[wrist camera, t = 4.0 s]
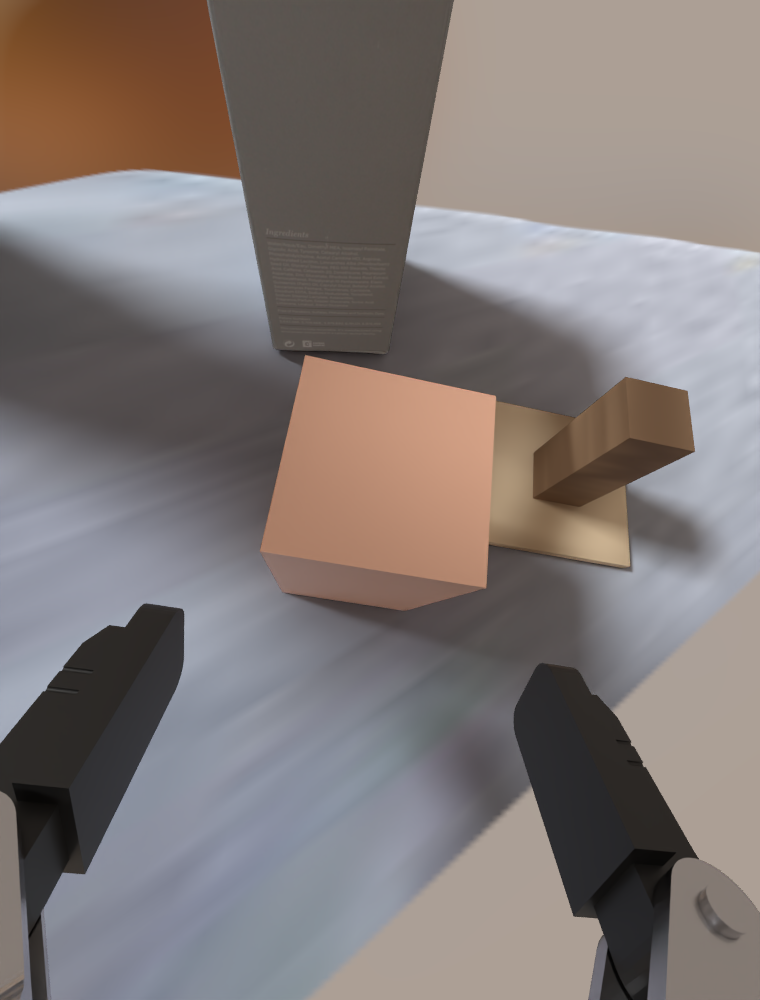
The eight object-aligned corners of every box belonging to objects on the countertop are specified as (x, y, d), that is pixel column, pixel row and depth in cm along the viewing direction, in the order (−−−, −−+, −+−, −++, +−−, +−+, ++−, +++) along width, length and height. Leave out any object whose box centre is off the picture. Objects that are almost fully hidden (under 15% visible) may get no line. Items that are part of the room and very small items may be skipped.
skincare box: (388, 359, 24) (524, -114, 9) (255, 353, 22) (151, -209, 8) (379, 242, 26) (473, -278, 11) (260, 231, 25) (188, -368, 10)
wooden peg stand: (476, 542, 21) (560, 494, 14) (484, 403, 24) (559, 304, 17) (623, 568, 22) (772, 534, 15) (615, 431, 25) (739, 348, 18)
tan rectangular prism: (282, 592, 19) (259, 551, 10) (306, 476, 21) (305, 355, 12) (404, 610, 20) (486, 588, 11) (417, 497, 21) (495, 396, 12)
